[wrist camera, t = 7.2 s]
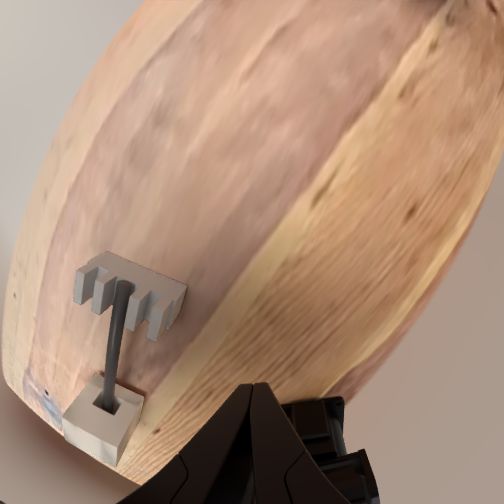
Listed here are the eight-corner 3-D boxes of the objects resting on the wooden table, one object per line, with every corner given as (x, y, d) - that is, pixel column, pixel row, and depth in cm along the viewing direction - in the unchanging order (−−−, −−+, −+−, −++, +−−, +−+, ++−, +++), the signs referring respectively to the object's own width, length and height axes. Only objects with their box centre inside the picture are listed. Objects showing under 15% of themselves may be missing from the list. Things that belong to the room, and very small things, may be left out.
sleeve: (95, 373, 23) (61, 416, 16) (144, 396, 23) (117, 447, 17) (94, 398, 24) (65, 440, 17) (139, 420, 24) (115, 467, 18)
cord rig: (107, 250, 21) (70, 269, 16) (187, 285, 21) (166, 315, 16) (91, 404, 25) (71, 432, 21) (146, 431, 26) (132, 463, 21)
